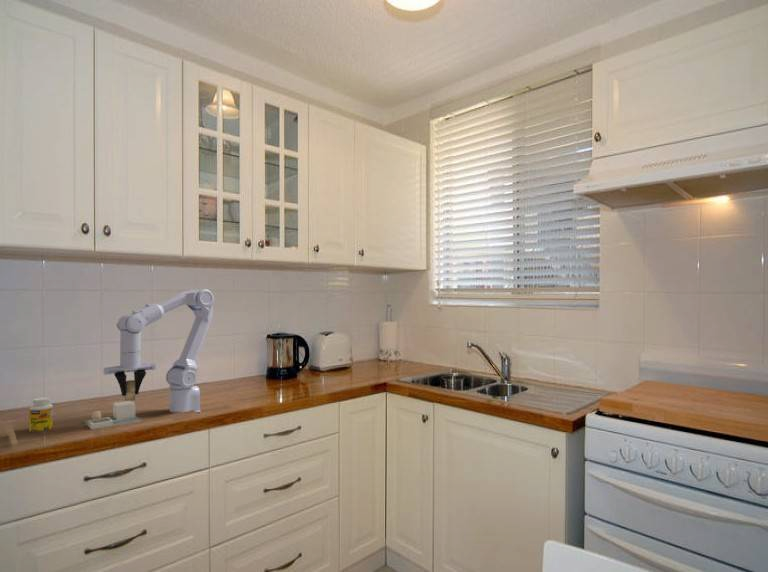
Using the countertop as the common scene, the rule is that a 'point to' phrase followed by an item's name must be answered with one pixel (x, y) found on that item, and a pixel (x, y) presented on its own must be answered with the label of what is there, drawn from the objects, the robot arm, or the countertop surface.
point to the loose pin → (130, 390)
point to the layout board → (108, 421)
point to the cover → (123, 410)
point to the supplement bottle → (40, 415)
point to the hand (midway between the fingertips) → (130, 394)
